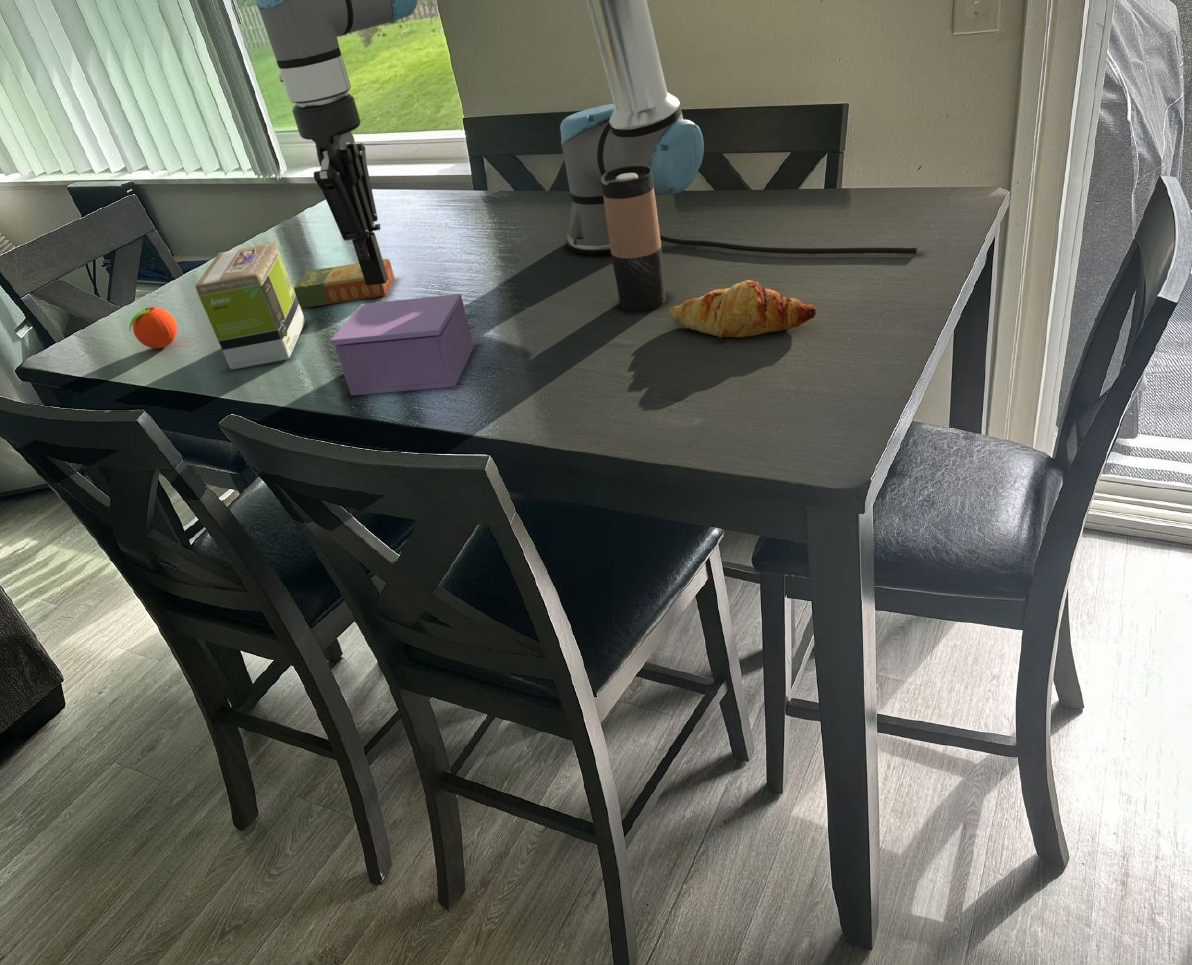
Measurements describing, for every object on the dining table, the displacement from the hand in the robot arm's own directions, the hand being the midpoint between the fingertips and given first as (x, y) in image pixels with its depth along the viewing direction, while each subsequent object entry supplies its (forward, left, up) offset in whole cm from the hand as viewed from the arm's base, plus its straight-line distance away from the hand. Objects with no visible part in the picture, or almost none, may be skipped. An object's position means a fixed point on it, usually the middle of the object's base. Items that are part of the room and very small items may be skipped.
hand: (377, 282), depth 125 cm
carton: (+22, -38, -16) cm, 47 cm away
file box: (0, -4, -16) cm, 16 cm away
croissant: (-48, -9, -16) cm, 51 cm away
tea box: (+29, -18, -16) cm, 38 cm away
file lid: (0, -4, -8) cm, 8 cm away
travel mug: (-33, -21, -16) cm, 42 cm away
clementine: (+51, -22, -16) cm, 58 cm away
